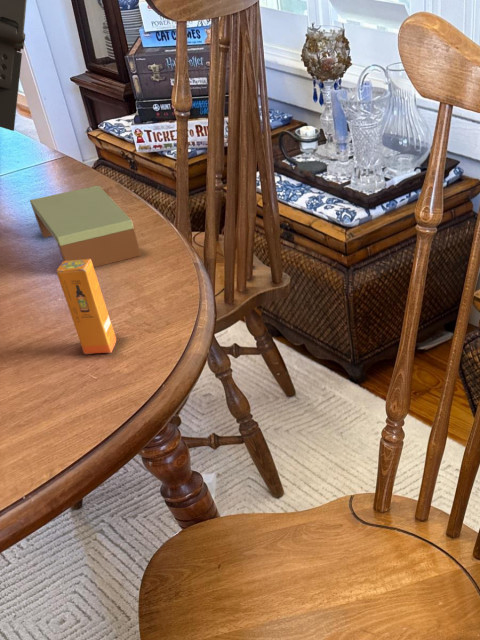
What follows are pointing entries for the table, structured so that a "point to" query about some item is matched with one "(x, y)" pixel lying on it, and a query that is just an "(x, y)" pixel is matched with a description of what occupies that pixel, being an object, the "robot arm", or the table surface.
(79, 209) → the shelf
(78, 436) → the table surface
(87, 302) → the supplement box
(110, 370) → the table surface
